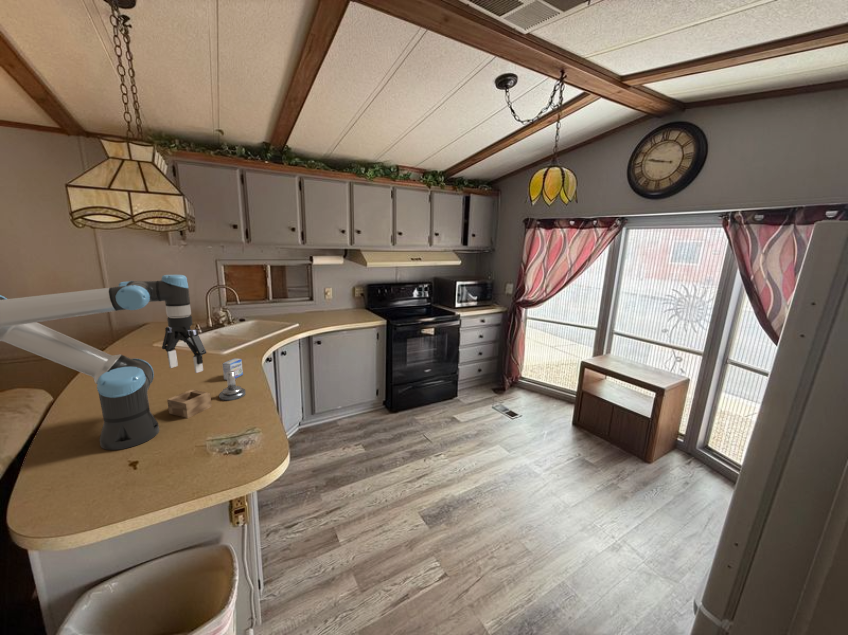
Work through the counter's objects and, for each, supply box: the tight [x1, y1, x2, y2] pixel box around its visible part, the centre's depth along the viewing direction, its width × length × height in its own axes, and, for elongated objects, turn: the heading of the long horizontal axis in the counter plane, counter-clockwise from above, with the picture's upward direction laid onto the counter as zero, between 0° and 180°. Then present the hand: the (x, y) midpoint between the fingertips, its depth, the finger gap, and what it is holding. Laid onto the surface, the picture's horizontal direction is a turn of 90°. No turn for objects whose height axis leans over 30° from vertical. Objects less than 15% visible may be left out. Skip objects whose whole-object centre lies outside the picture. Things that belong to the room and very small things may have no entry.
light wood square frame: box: [166, 388, 213, 419], centre depth 132 cm, size 10×10×6 cm
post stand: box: [218, 371, 246, 402], centre depth 145 cm, size 10×10×11 cm
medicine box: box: [222, 358, 244, 381], centre depth 165 cm, size 8×4×9 cm, turn 168°
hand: (186, 369), depth 129 cm, fingers open, 13 cm apart
